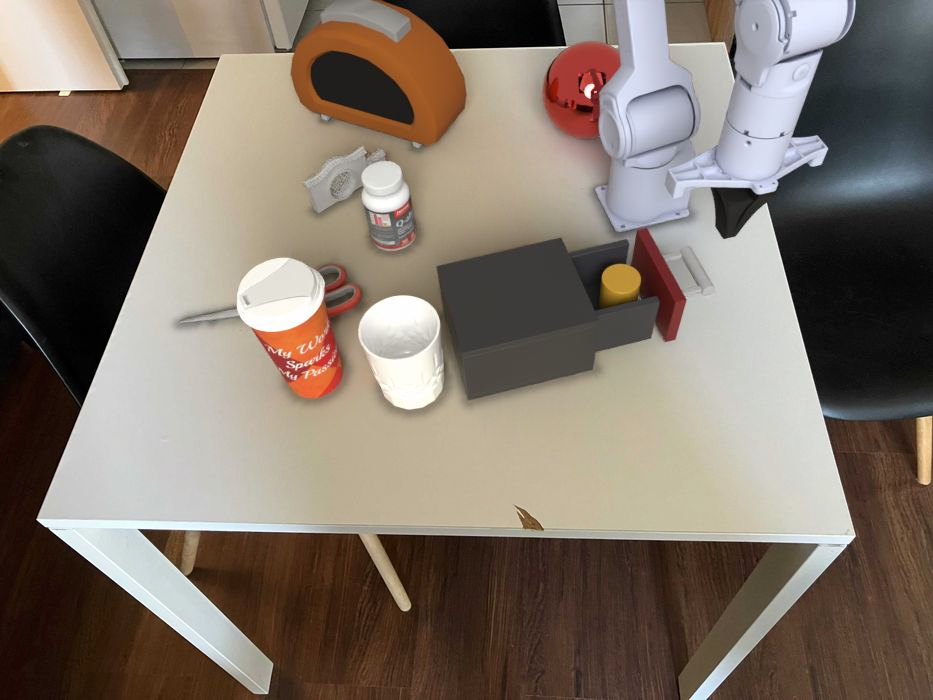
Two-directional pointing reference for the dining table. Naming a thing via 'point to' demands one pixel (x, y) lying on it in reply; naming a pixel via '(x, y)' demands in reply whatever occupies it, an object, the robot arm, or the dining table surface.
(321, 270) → the scissors
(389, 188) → the pill bottle
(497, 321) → the dark drawer box
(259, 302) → the coffee cup
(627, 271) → the yellow cylinder
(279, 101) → the dining table surface
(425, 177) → the dining table surface
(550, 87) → the ball
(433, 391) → the white cup
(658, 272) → the drawer
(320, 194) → the lattice window wall
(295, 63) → the alarm clock
